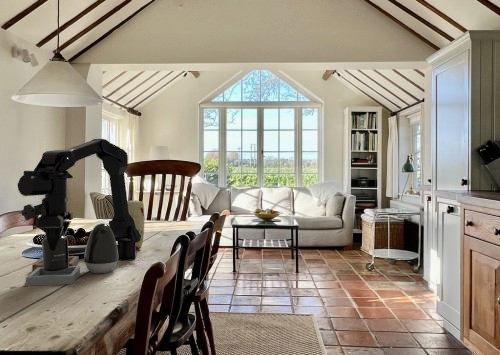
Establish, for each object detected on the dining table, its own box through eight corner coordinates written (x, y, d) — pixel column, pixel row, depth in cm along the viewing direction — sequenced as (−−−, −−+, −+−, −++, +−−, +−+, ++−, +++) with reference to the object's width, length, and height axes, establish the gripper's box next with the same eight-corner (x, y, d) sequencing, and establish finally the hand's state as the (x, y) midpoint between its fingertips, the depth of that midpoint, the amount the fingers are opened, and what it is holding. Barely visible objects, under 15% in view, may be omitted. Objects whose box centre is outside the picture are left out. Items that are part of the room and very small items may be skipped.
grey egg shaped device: (85, 277, 122) (86, 226, 122) (82, 269, 131) (83, 222, 131) (121, 273, 127) (121, 224, 127) (115, 266, 136) (116, 220, 136)
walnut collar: (78, 263, 140) (78, 256, 140) (72, 271, 128) (72, 263, 128) (41, 264, 137) (42, 257, 137) (32, 272, 126) (32, 264, 126)
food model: (117, 251, 162) (118, 200, 162) (119, 248, 168) (120, 199, 168) (143, 250, 164) (144, 200, 163) (144, 247, 170) (145, 199, 170)
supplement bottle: (59, 272, 115) (56, 229, 115) (37, 271, 117) (35, 230, 116) (74, 266, 122) (71, 225, 122) (53, 265, 123) (51, 226, 123)
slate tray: (80, 273, 126) (80, 266, 126) (73, 283, 115) (73, 275, 115) (37, 274, 124) (37, 267, 124) (25, 285, 112) (25, 277, 112)
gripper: (34, 192, 126) (34, 243, 126) (14, 196, 108) (14, 255, 108) (73, 192, 129) (72, 242, 129) (60, 196, 111) (60, 254, 111)
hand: (55, 248), depth 119 cm, fingers closed on supplement bottle, 7 cm apart
